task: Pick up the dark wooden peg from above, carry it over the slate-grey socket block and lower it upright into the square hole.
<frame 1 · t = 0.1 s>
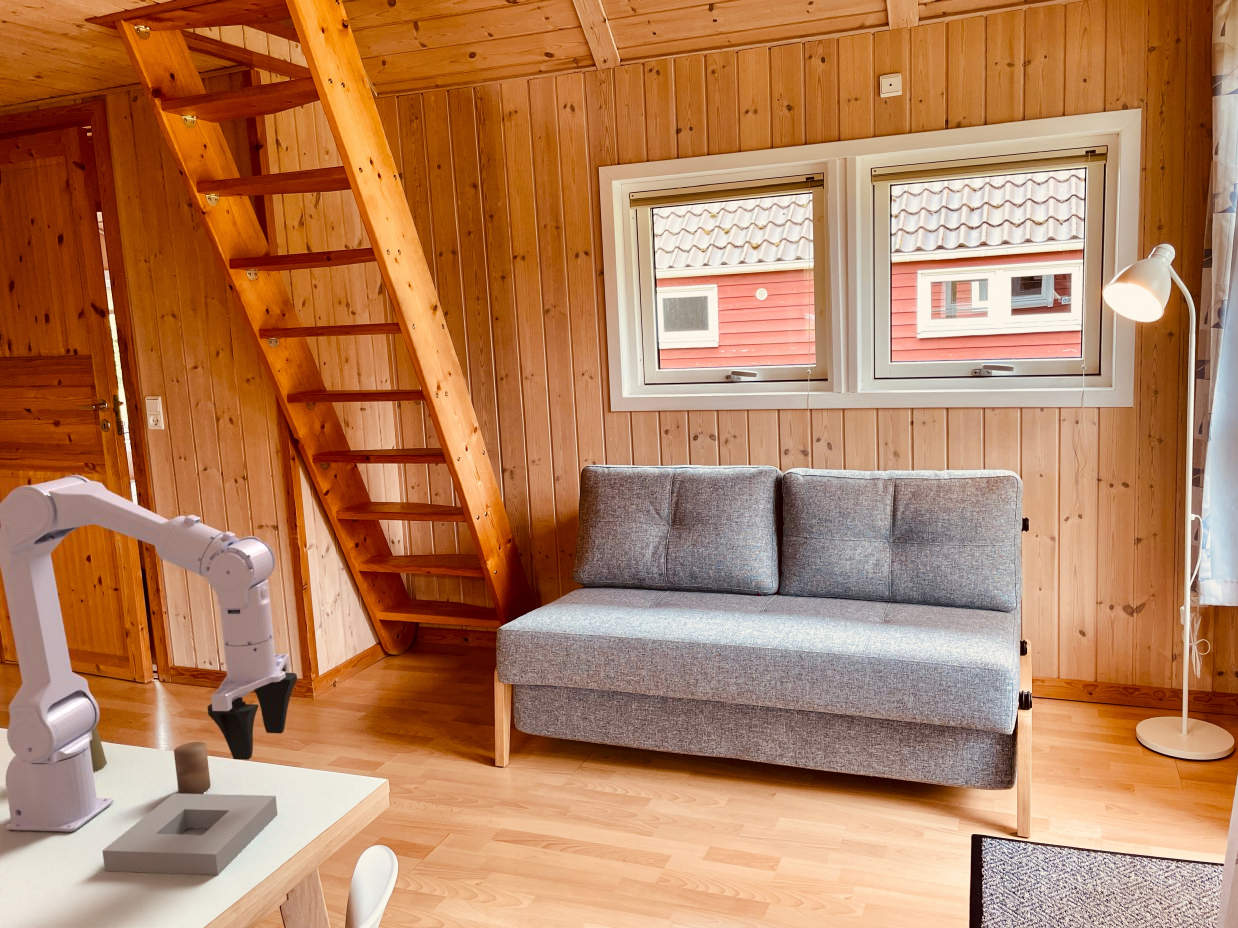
hand: (259, 744, 122), 10 cm above the table, tool pointing down, fingers open, 7 cm apart
wooden peg: (194, 790, 133), on the table
socket block: (195, 841, 119), on the table
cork: (83, 769, 142), on the table
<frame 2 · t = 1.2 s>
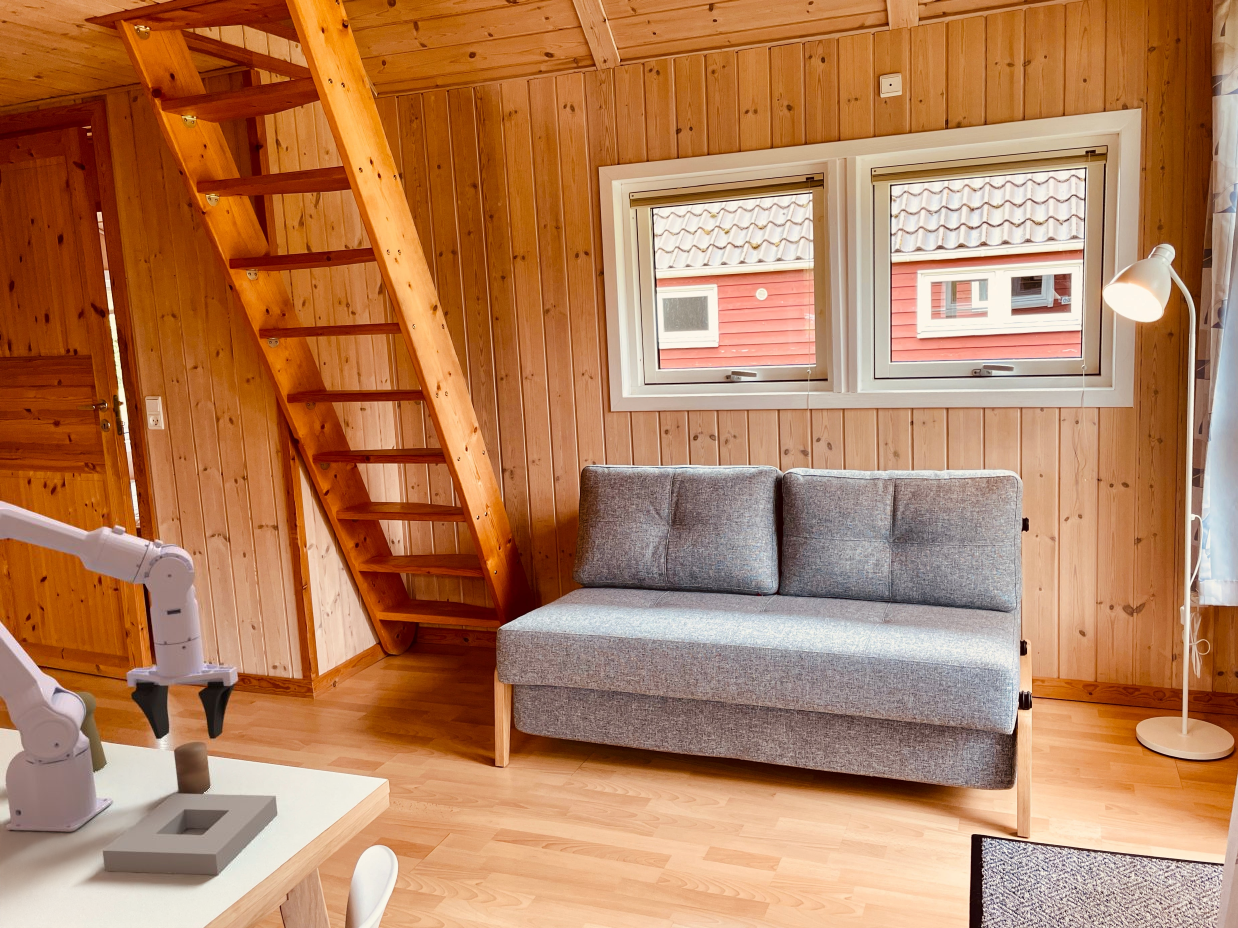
hand: (189, 735, 132), 8 cm above the table, tool pointing down, fingers open, 7 cm apart
nothing on the table moved.
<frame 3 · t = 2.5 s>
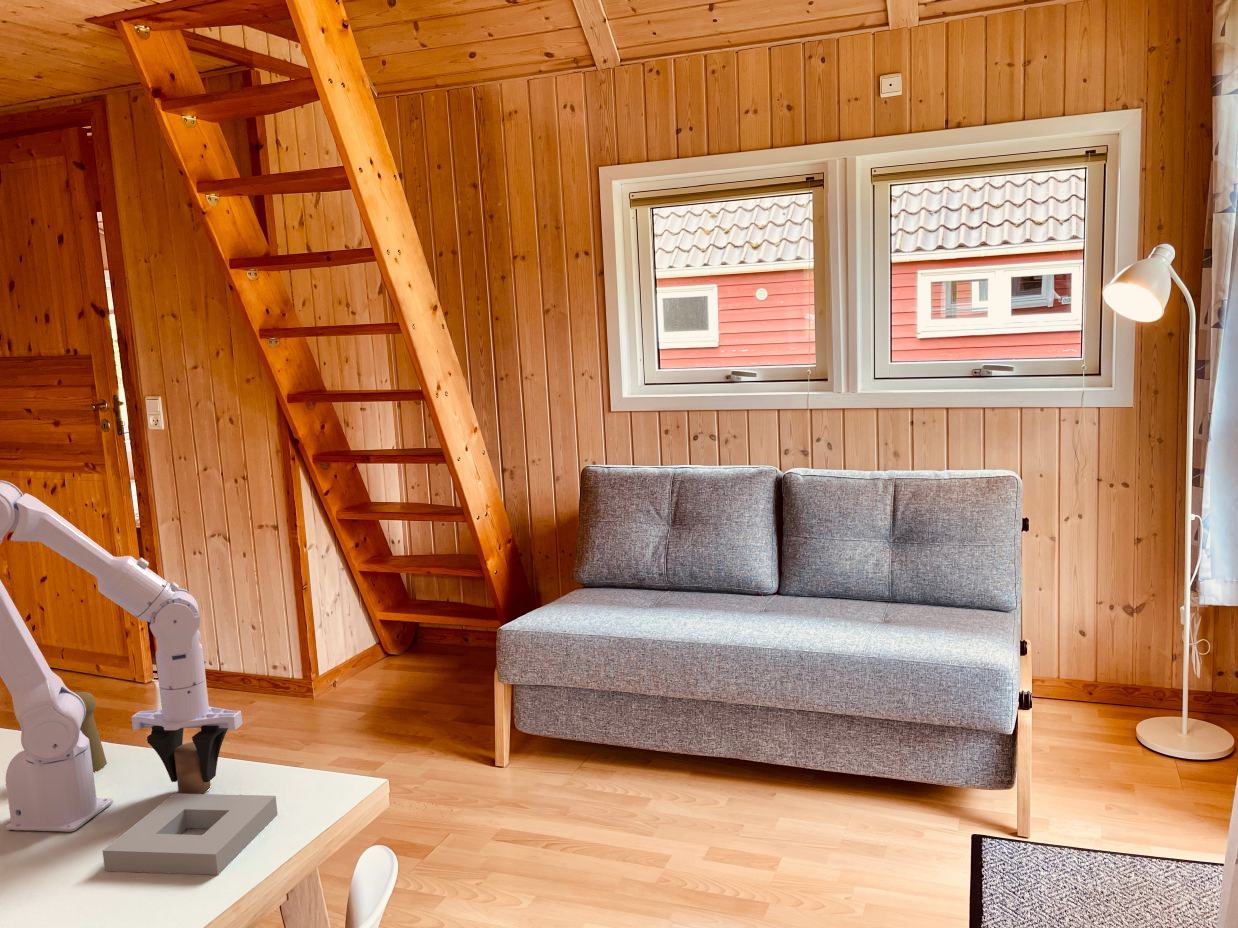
hand: (193, 778, 133), 2 cm above the table, tool pointing down, fingers closed on wooden peg, 4 cm apart
wooden peg: (194, 790, 133), on the table, touching gripper
everything else where it was.
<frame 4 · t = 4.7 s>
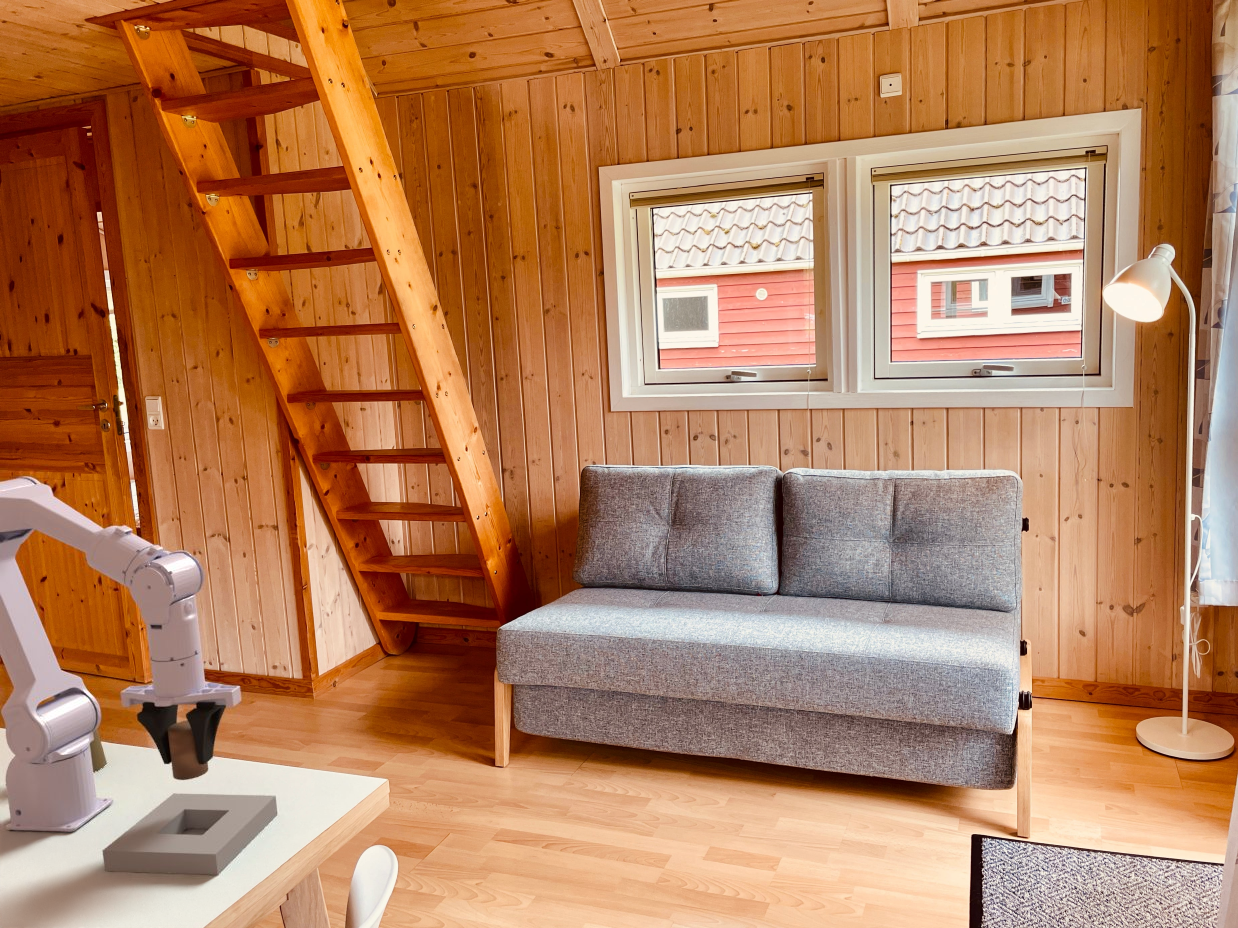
hand: (188, 760, 121), 9 cm above the table, tool pointing down, fingers closed on wooden peg, 4 cm apart
wooden peg: (190, 772, 121), point 7 cm above the table, touching gripper
everything else where it was.
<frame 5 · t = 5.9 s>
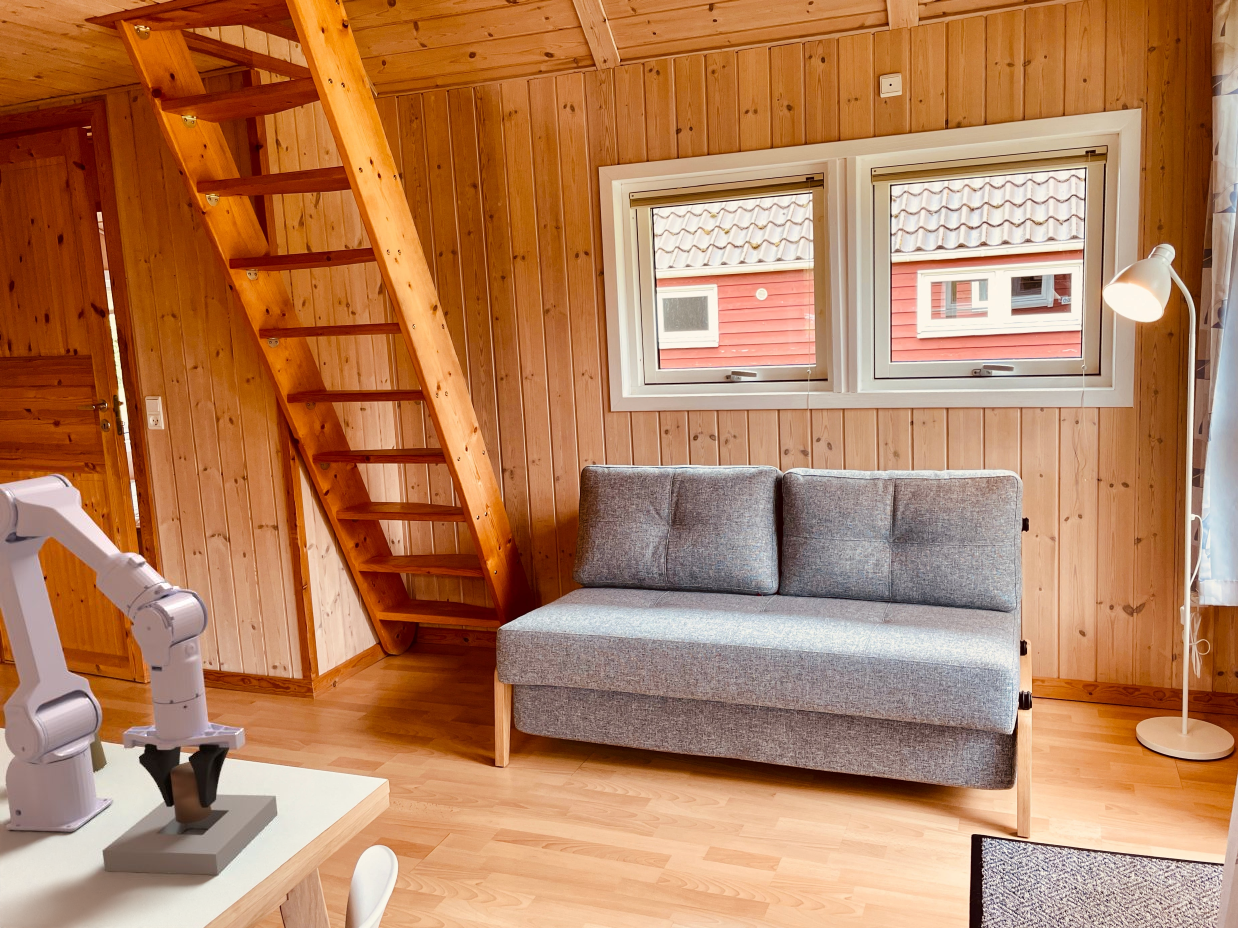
hand: (191, 803, 119), 5 cm above the table, tool pointing down, fingers closed on wooden peg, 4 cm apart
wooden peg: (193, 815, 119), point 3 cm above the table, touching gripper
everything else where it was.
when the fingers open (4 cm above the table, at t = 7.0 s): wooden peg drops 2 cm, resting in socket block.
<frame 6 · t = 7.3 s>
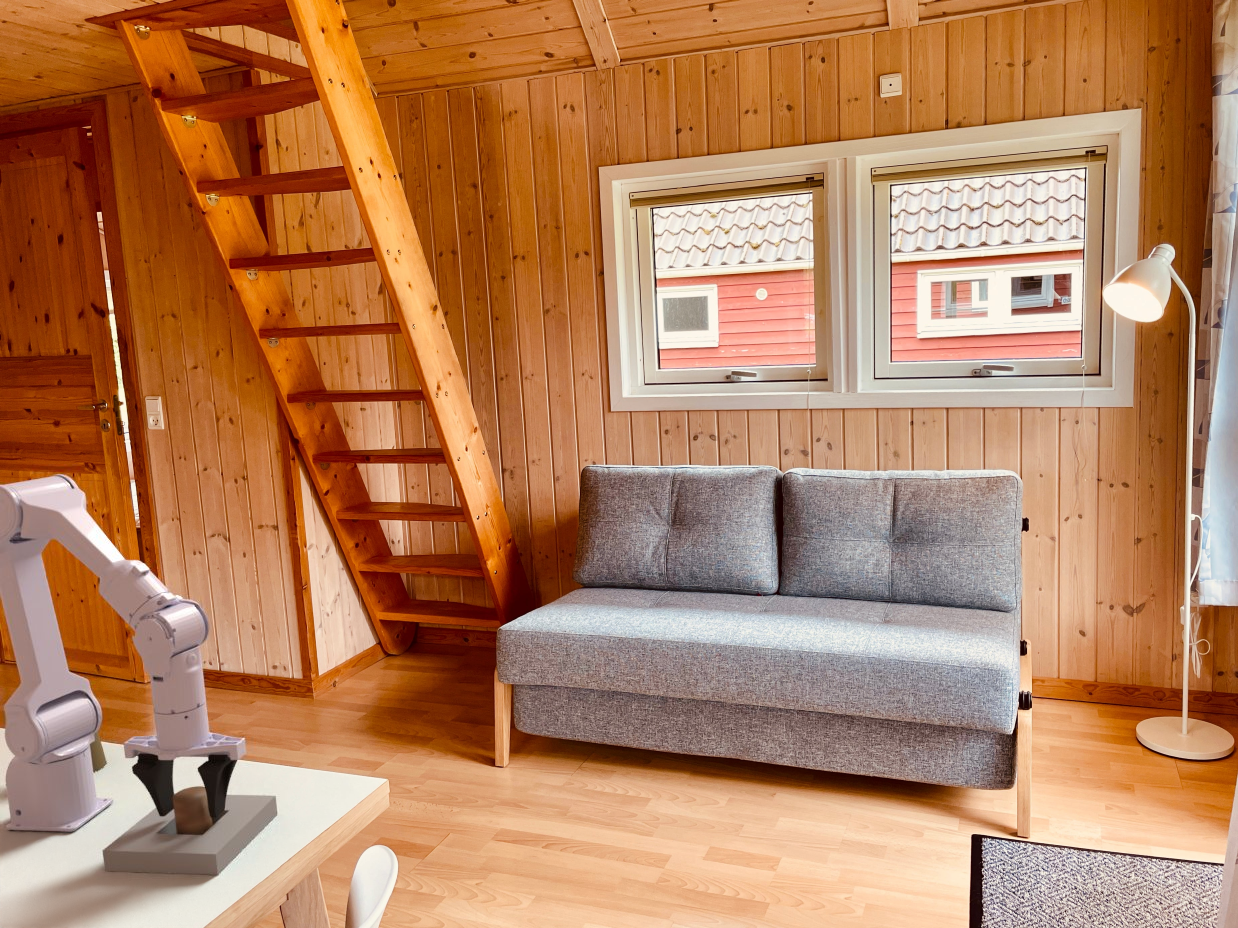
hand: (192, 813, 119), 4 cm above the table, tool pointing down, fingers open, 6 cm apart
wooden peg: (196, 840, 119), resting in socket block
everything else where it was.
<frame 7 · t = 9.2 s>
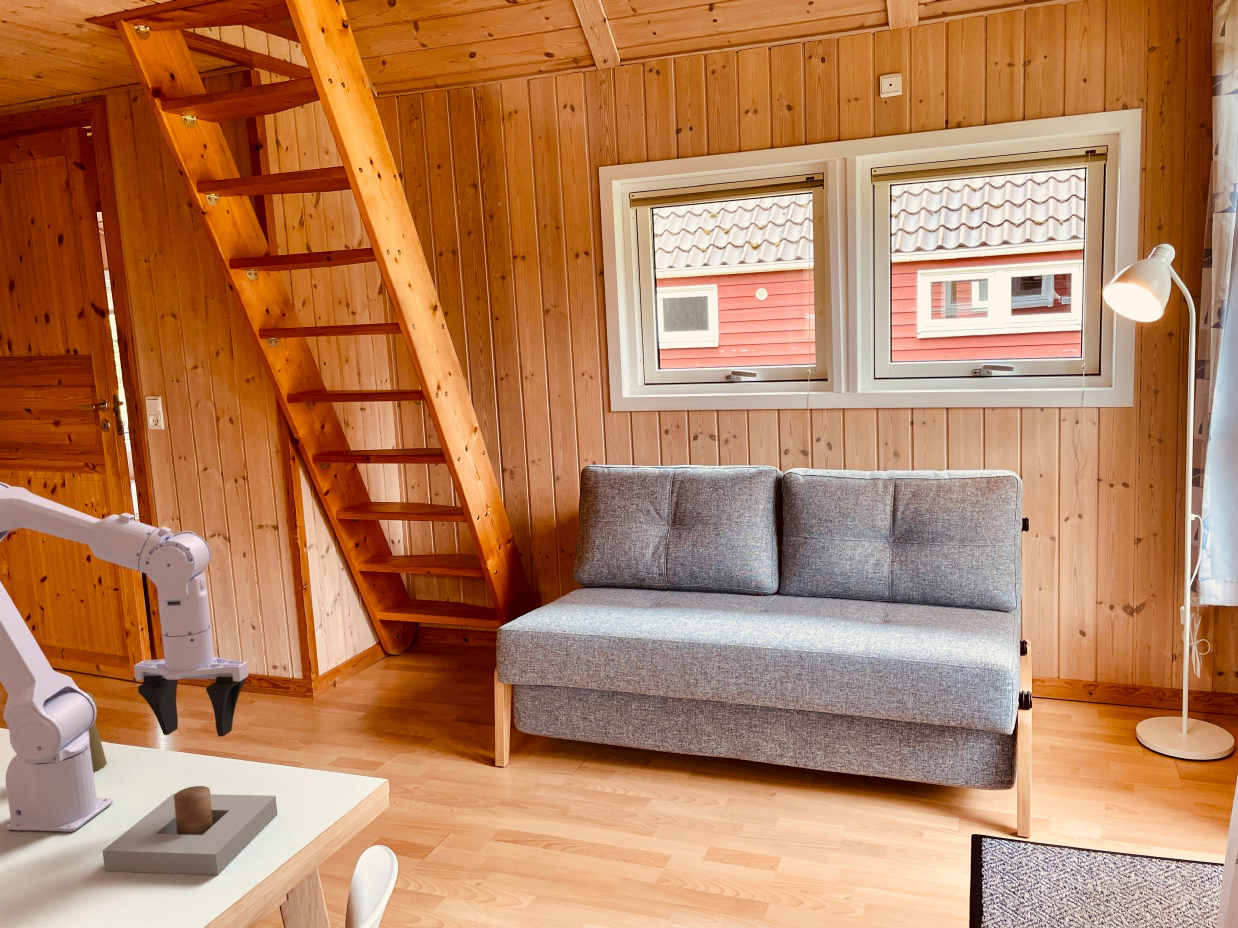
hand: (197, 732, 126), 10 cm above the table, tool pointing down, fingers open, 7 cm apart
nothing on the table moved.
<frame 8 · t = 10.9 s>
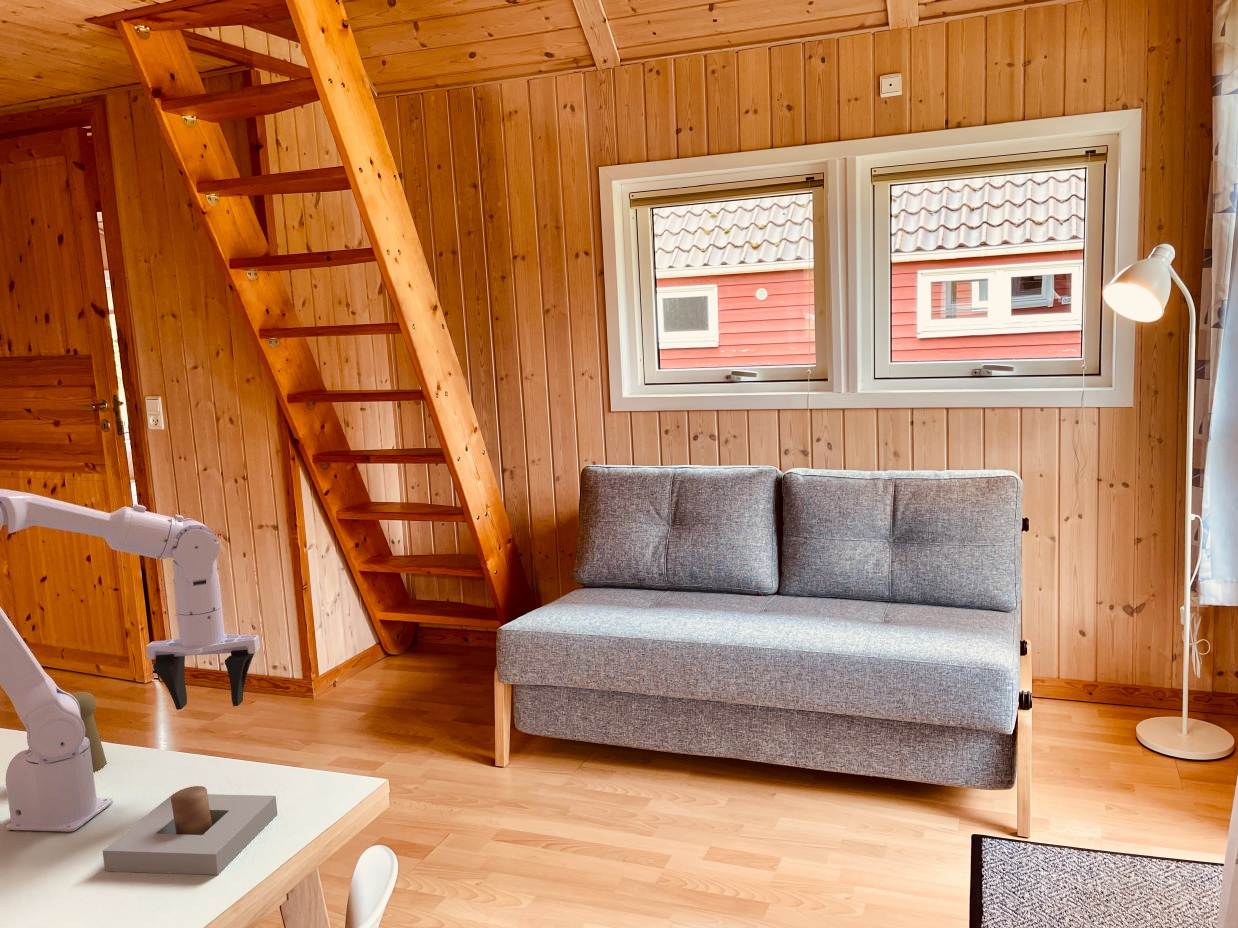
hand: (209, 705, 136), 10 cm above the table, tool pointing down, fingers open, 7 cm apart
nothing on the table moved.
at the end: wooden peg 0.2 cm off-centre on the socket block, point 0.0 cm above the socket block's base; wooden peg tilted 2°; the gripper is holding nothing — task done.
